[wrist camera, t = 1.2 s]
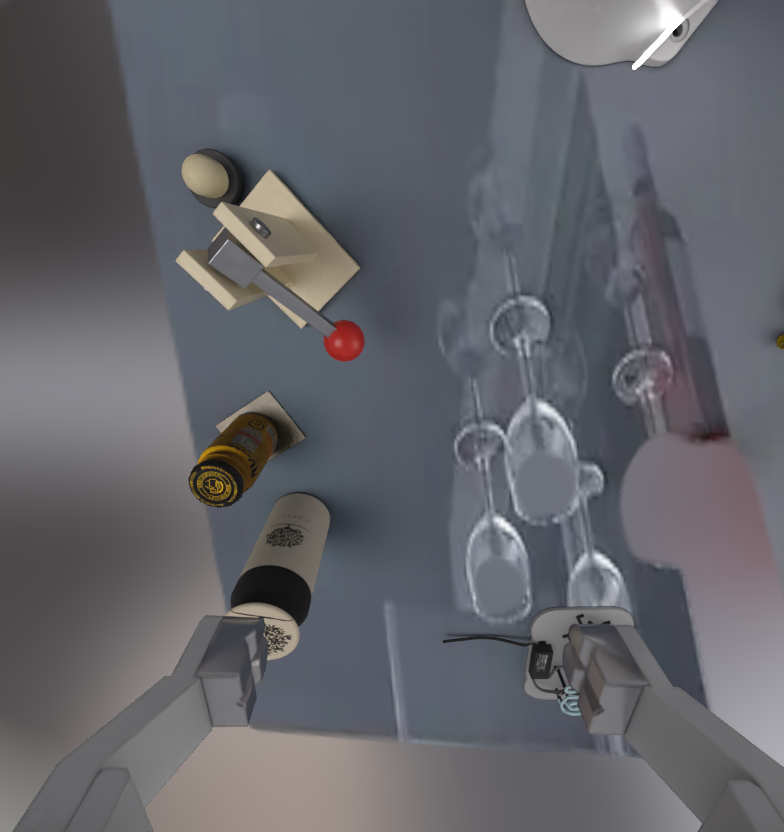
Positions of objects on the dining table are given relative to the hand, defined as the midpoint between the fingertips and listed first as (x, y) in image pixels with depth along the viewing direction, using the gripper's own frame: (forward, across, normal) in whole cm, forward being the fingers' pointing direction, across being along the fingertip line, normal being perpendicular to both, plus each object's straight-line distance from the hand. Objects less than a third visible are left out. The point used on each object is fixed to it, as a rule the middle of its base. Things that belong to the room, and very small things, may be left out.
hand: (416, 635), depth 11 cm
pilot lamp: (+37, +18, -15) cm, 44 cm away
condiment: (+37, +17, +12) cm, 42 cm away
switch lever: (+26, +9, -6) cm, 28 cm away
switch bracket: (+37, +12, -9) cm, 40 cm away
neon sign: (+37, -23, +51) cm, 67 cm away
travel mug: (+37, +13, +24) cm, 46 cm away
